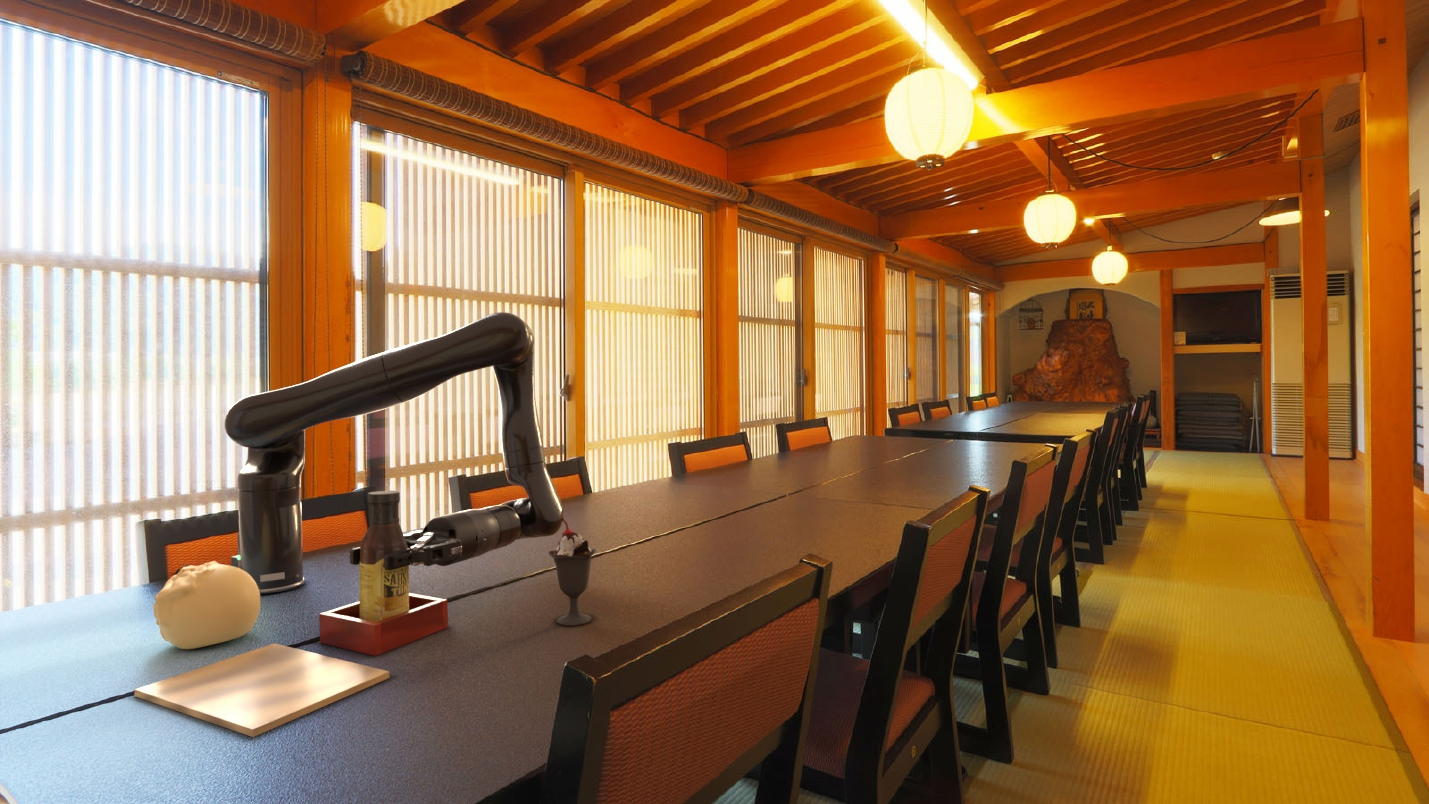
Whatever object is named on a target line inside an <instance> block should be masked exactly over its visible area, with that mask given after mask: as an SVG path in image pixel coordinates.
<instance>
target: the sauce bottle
mask: <svg viewBox="0 0 1429 804" xmlns="http://www.w3.org/2000/svg"><path fill="white" fill-rule="evenodd" d="M400 493H401V492H400V491H399V490H378V491H371V492H368V493H367V504H368V505H369V512H368V513H369V519H368V524H369V526H368V529H367V530H366V532H365V533H364V536H363V537H362V539H361V541H360V546H359V547H360V564H359V601H360V619H363V620H368V621H373V622H378V621H380V620H383V619H386V618H389V617H392V616H395V615H398V614H401V613H403V612H406V611H409V593H410V565H408V566H404V567H401V568H397V569H394V570H385V568H384V556H385V554H387V553H391V552H395V551H398V550H402V549H406V548H408V546H407V543H406V540H405V537H404V535H403V534H404V532H403V530H402V526H401V524H400V517H399V516H400V515H399V514H400V509H399V508H400V507H399V505H400V500H401V494H400ZM408 549H409V548H408Z"/></svg>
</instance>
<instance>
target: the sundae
mask: <svg viewBox="0 0 1429 804" xmlns="http://www.w3.org/2000/svg"><path fill="white" fill-rule="evenodd" d="M560 520H562V521H563V522H562V523H564V525H565V530H564V531H563V532H562V533H561V539H560V540H559V541H558V543H557V545H556V549H553V550H550V551H549V552H548V555H549V556H550V557H551V558H552V559H553V560H554V563H555V568H556V575H557V576H556V577H557V583H558V586H559V589H560V591H561V592H562V593H563V594H564V595H565V596H567V597H568V598H569V610H568V613H567V614H565V615H562V616H560V617H558V618H557V620H556V622H557V624H559V625H560V626H566V627H576V626H582V625H585V624H588V623H590V622H591V621H592V617H591V615H589V614H586V613H582V612H581V611H580V608H579V597H580V596H581V595H582V594H583V593H585V591H586V589H587V588H588V585H589V579H590V572H591V562H592V556H593V555H594V554H596V552H597V549H596V548H590V546H589V540H587V539H585V538H583V536H582V535H581V534H579V533H578V532H574V531H573V529H571V528H569V525H568V523H567V521H566V520H565V518H564V516H563V517H561V518H560Z"/></svg>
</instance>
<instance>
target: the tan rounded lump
mask: <svg viewBox="0 0 1429 804" xmlns="http://www.w3.org/2000/svg"><path fill="white" fill-rule="evenodd" d="M189 565H190V566H188V567H183V568H182V569H180V571H179V572H178V574H176V575H175V574H174V575H172V576H171V577H170V578H169V579H167V580H166V582H165V584H164V586H163V588H162V589H160V591H159V592H158V593H157V594H156V595H155V596H154V600H155V601H154V603H153V605H152V606H153V607H152V609H153V616H154V618H155V620H156V621H155V623H156V625H157V626H158V627H159V633H160V636H161V638H162V639H163V640H164V641H166V642H169V643H170V644H171V645H173V646H174V647H176V648H178V649H181V650H195V649H199V648H203V647H207V646H212V645H216V644H217V645H218V644H221V643H224V642H229V641H232V640H235V639H238V638H241V637H243V636H245V635H247V634H248V633H249V632H250V631H251V630H252V629H253V627H254V626H255V624H256V622H257V620H258V617H259V615H260V610H261V602H262V601H261V594H260V592H259V589H258V586H257V584H256V582H255V581H254V579H253V578H252V577H251V576H250V575H249V574H248V573H247V572H245V571H244V570H242V569H240V568H237V567H234V566H230V565H231V564H230V565H229V564H221V563H219V562H218V561H216V560H212V561H209V562H204V563H202V564H200V565H191V564H189Z"/></svg>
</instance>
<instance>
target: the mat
mask: <svg viewBox="0 0 1429 804" xmlns="http://www.w3.org/2000/svg"><path fill="white" fill-rule="evenodd" d="M388 679H390V671H388V670H385V669H381V668H378V667H377V668H376V667H373V666H370V665H365V664H360V663H356V662H352V661H348V660H344V659H341V658H335V657H331V656H328V655H324V654H319V653H316V652H311V651H309V650H307V651H306V650H303V649H301V648H300V649H299V648H295V647H291V646H287V645H283V644H278V643H275V642H273V643H271V644H268V645H264V646H261V647H258V648H256V649H253V650H249V651H247V652H243V653H240V654H237V655H234V656H232V657H227V658H225V659H222V660H219V661H216V662H213V663H210V664H207V665H204V666H201V667H197V668H195V669H192V670H189V671H185V672H183V673H180V674H177V675H173V676H171V677H168V678H165V679H162V680H159V681H155V682H152V683H150V684H146V685H144V686H141V687H138V688H135V689H134V693H133V694H134V697H136V698H137V699H141V700H144V701H148V702H150V703H153V704H155V705H159V706H161V707H165V708H167V709H170V710H173V711H176V712H179V713H182V714H185V715H187V716H190V717H193V718H196V719H199V720H202V721H205V722H207V723H211V724H214V725H216V726H219V727H222V728H226V729H229V730H231V731H234V732H237V733H239V734H242V735H244V736H248V737H251V738H255V737H257V736H259V735H262V734H264V733H267V732H268V731H271V730H273V729H275V728H278V727H280V726H282V725H284V724H287V723H289V722H291V721H294V720H296V719H298V718H300V717H303V716H305V715H308V714H310V713H312V712H315V711H317V710H319V709H321V708H323V707H326V706H328V705H331V704H332V703H335V702H338V701H339V700H342V699H345V698H347V697H349V696H351V695H353V694H356V693H359V692H361V691H363V690H365V689H367V688H370V687H372V686H374V685H376V684H379V683H380V682H383V681H386V680H388Z"/></svg>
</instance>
